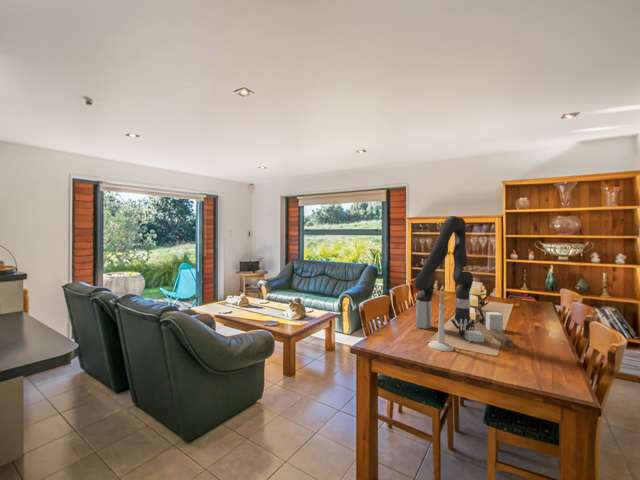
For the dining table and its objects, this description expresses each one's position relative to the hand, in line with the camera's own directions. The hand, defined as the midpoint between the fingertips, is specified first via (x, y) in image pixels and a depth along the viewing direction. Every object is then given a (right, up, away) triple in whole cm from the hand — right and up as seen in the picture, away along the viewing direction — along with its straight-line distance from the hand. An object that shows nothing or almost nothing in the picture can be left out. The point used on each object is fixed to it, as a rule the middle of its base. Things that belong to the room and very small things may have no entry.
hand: (462, 336), depth 178 cm
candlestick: (-17, -2, -13) cm, 21 cm away
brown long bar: (+21, -2, -2) cm, 21 cm away
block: (+7, -2, 0) cm, 7 cm away
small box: (+28, -2, +17) cm, 33 cm away
